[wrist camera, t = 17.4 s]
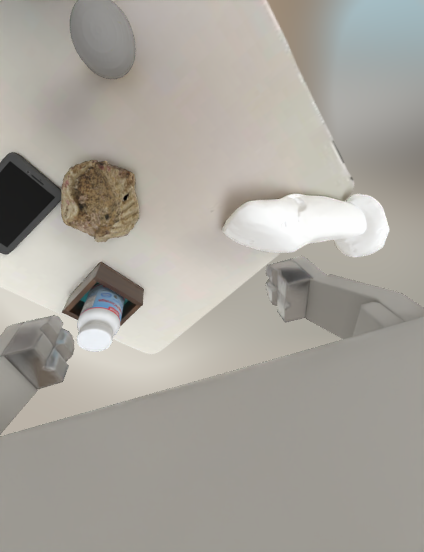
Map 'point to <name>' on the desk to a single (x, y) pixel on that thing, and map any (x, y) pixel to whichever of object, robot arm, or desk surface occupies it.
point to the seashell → (99, 200)
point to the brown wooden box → (112, 282)
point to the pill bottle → (99, 319)
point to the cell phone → (22, 200)
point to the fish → (310, 224)
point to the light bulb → (102, 37)
